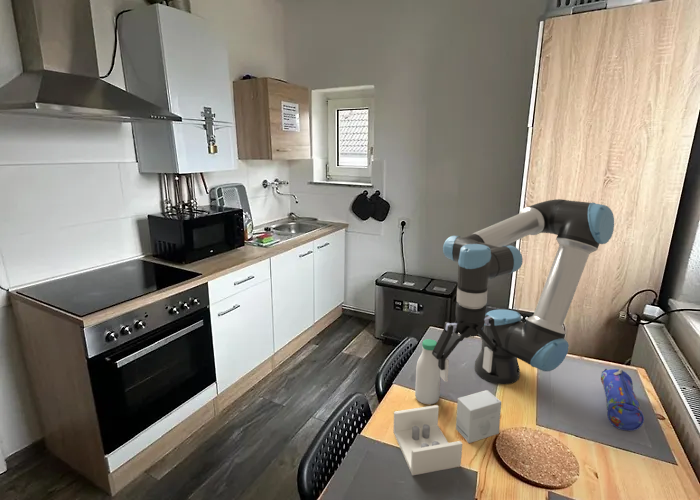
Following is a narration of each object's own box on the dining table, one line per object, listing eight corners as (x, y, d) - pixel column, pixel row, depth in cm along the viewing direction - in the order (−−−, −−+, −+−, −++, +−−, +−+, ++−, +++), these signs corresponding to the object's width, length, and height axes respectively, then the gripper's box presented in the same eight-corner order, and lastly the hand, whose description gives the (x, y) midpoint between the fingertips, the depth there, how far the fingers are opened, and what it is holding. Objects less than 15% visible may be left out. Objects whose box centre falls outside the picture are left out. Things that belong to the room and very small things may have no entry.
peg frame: (435, 425, 111) (437, 404, 109) (460, 466, 97) (462, 443, 95) (393, 432, 108) (393, 411, 106) (412, 475, 94) (413, 452, 92)
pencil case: (598, 386, 128) (602, 361, 126) (629, 393, 124) (634, 367, 122) (605, 427, 109) (610, 399, 107) (641, 438, 105) (648, 408, 103)
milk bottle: (439, 406, 119) (443, 349, 113) (414, 403, 120) (416, 347, 115) (438, 391, 126) (442, 337, 121) (415, 388, 127) (417, 335, 122)
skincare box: (484, 419, 113) (487, 388, 110) (499, 433, 107) (502, 402, 105) (454, 428, 110) (456, 396, 107) (468, 443, 104) (471, 411, 101)
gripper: (501, 292, 106) (495, 359, 112) (421, 304, 99) (418, 374, 105) (520, 302, 99) (512, 373, 105) (435, 316, 92) (431, 391, 98)
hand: (465, 374), depth 105 cm, fingers open, 13 cm apart
